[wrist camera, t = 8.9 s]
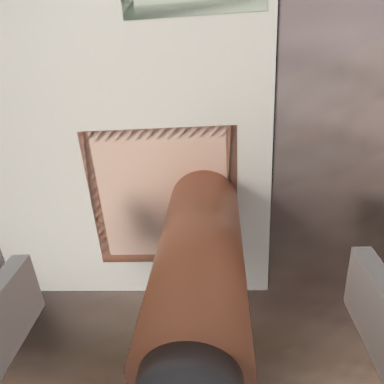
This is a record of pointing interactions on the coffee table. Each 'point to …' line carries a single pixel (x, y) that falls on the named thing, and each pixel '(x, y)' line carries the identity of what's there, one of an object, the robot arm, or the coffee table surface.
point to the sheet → (129, 129)
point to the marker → (196, 293)
